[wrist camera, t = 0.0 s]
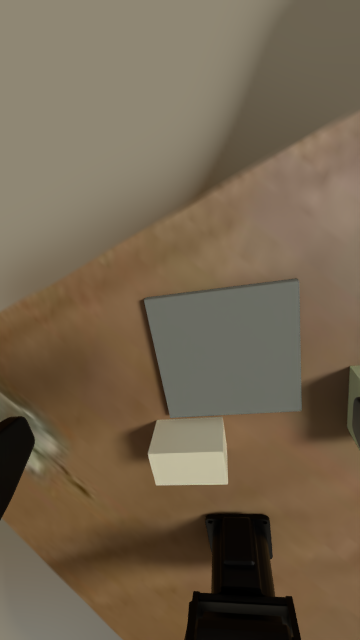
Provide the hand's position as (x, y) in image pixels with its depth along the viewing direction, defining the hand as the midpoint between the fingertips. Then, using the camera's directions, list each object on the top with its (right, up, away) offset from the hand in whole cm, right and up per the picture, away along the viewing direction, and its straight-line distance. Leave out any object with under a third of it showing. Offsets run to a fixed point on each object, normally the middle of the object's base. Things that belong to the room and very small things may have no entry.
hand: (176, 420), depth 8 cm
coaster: (+4, 0, +16) cm, 16 cm away
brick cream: (+1, -8, +19) cm, 21 cm away
